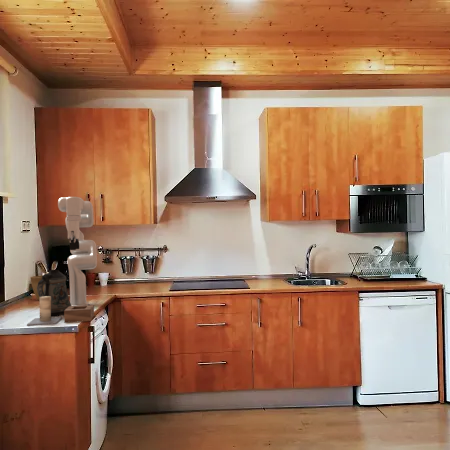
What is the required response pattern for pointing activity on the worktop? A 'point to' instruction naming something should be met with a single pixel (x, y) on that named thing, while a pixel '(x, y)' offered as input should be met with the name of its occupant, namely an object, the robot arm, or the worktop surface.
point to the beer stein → (55, 291)
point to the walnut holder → (79, 313)
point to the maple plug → (45, 308)
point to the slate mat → (37, 321)
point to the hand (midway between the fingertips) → (74, 249)
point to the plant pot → (34, 284)
